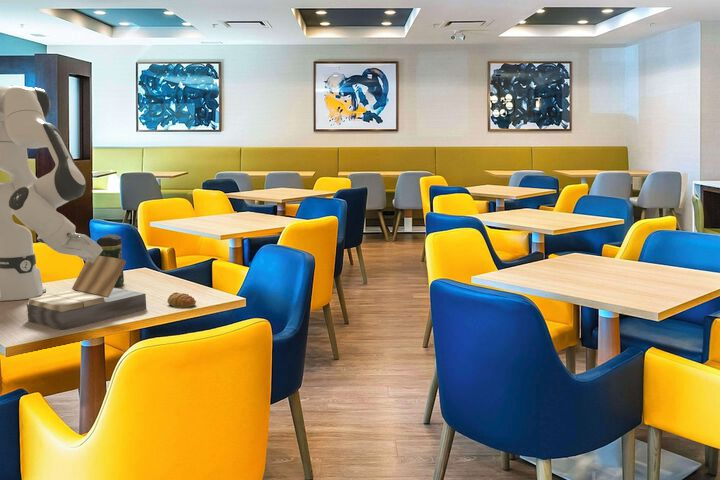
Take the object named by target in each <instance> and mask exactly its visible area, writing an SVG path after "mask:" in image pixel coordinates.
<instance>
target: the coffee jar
mask: <svg viewBox="0 0 720 480" xmlns="http://www.w3.org/2000/svg"><path fill="white" fill-rule="evenodd" d="M96 243H97V244H98V245H99V246H101V248H102V252H101V254H100V255H99V256H105V257H112V258H119V259H123V249H122V247H123V245H122V237H121V236H120V235H118V234H106V235H104V236H101V237H99V238H97V239H96ZM124 276H125V275H124V268H123V269H122V271H121V273H120V275H119V278H118V280H117V282H116V284H115V286H114V288H117V287H120V286H121V285H123V284H124V283H125V277H124Z"/></svg>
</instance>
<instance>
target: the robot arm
mask: <svg viewBox="0 0 720 480" xmlns="http://www.w3.org/2000/svg"><path fill="white" fill-rule="evenodd" d="M49 97H50V96H49V95H48V92H46V91H45V89H42V88H40V87H34V86H33V87H28V86H22V85H0V171H1V172H2V173H3V172H4V173H6V174H7V175H8V176H9V177H8V178H9V181H4V182H0V302H2V301H3V302H4V301H19V300H25V299H31V298H36V297H40V296H42V295H43V294H44V293H45V292H47V288H46V287H43V281H42V277H41V276H42V275H41V274H42V273H41V270H40V268H38V266H37V265H36V264H37V257H36V254H35V252H34V242H33V241H34V240H33V234H32V231H33V232H34V233H36V235H37V237H36V240H37V241H38V242H39V243H42V244H45V245H46V246H47V247H49V248H50V249H52V250H53V251H55V252H57V253H58V254H63V255H69V256H74V257H78V258H80V259H82V260H83V261H85V262H88V263H94V262H95V261H96V258H97V257H98V256H99V255H100V254H101V252H102V248H101V246H99V245H98V244H97V241H95V240H93V239H92V238H90V236H88V235H87V234H83V233H76V225H75V224H74V223H73V222H71V220H69V219H68V218H67V217H66V216H65V215H63V214H62V213H60V212H58V211H57V208H59V207H62V206H63V205H65V204H67V203H69V202H71V201H74V200H76V199H78V198H82V196H83V195H84V194H85V191H86V187H87V181H86V178H85V176H84V174H83V172H82V171H81V170H80V169H79V166H78V165H77V163H76V161H75V159H74V157H73V155H72V153H71V152H70V149H69V146H68V145H67V142H66V141H65V138H64V137H63V135H62V133H61V131H60V130H59V129H58V128H57V127H56V126H55V125H54V124H53V123H50V122H47V121H46V118H47V117H48V116H49V115H50V110H51V100H50V98H49ZM42 148H47V149H48V151H49V154H50V155H51V157H52V161H53V162H54V165H55V166H54V168H53V169H52V170H51V171H50V172H48V173H47V174H44V175H43V176H40V177H39V178H38V177H37V176H36V175H35V174H34V172H33V171H32V169H31V165H30V162H29V156H28V149H31V150H33V149H35V150H36V149H42ZM13 215H14V216H15V217H16V218H17V219H18V220H19V221H20V222H21V223H22V224H23V225H21V224H18V223H16V222H15V221H14V219H13Z"/></svg>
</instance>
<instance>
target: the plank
mask: <svg viewBox="0 0 720 480" xmlns="http://www.w3.org/2000/svg"><path fill="white" fill-rule="evenodd" d="M126 263H127V261H126V260H125V259H123V258H122V259H119V258H112V257H105V256H98V257H97V258H96V261H95V262H94V263H88V262H86V261H85V262H84V264H83V266H82V268H81V270H80V272H79V273H78V276H77V278H76V280H75V281H74V284H73V286H72V287H71V290H72V291H77V292H81V293H88V294H93V295H98V296H103V297H107V298H109V296H110V294H111V292H112V290H113V288H115V287H114V286H115V284H116V282H117V280H118V278H119V275H120V273H121V271H122V269H123V270H124V268H125V265H126Z"/></svg>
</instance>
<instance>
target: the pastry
mask: <svg viewBox="0 0 720 480" xmlns="http://www.w3.org/2000/svg"><path fill="white" fill-rule="evenodd" d="M167 303H168V305H169V306H170V307H171V306H172V307H175V308H183V309H184V308H190V307H192V306H196V304H197V301H196V300H195V298H194V297H193V296H192V295H189V294H188V293H180V292H178V291H177V292H173V293H171V294H170V295H169V296H168V299H167Z"/></svg>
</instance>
